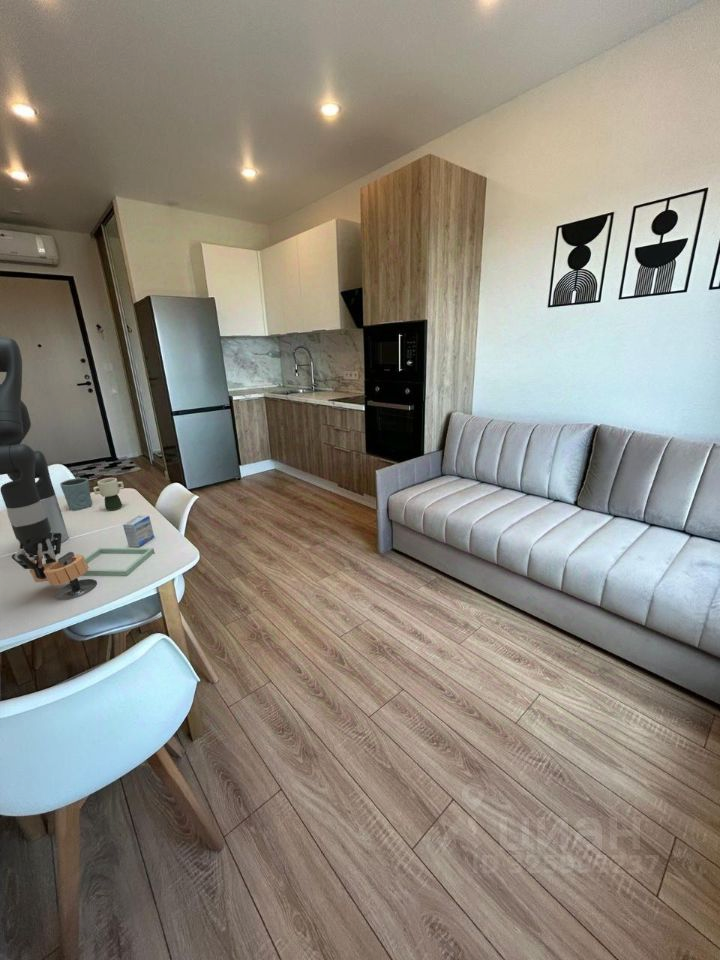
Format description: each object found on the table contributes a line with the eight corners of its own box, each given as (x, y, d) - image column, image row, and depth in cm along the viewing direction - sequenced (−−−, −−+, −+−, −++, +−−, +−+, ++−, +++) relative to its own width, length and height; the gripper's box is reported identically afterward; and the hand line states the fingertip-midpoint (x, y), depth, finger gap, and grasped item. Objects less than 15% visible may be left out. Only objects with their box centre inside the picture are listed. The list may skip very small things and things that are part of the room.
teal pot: (73, 504, 176) (66, 479, 172) (98, 501, 179) (91, 476, 175) (63, 512, 167) (55, 486, 163) (89, 509, 169) (82, 483, 165)
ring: (26, 588, 106) (19, 576, 104) (53, 570, 114) (47, 558, 113) (71, 583, 104) (64, 570, 102) (95, 565, 112) (89, 552, 111)
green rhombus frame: (68, 577, 117) (66, 570, 117) (101, 554, 131) (99, 547, 130) (127, 578, 116) (126, 571, 115) (155, 554, 129) (153, 548, 128)
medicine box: (139, 547, 134) (133, 525, 131) (128, 546, 135) (122, 524, 132) (154, 537, 142) (149, 515, 139) (144, 536, 142) (139, 514, 140)
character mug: (127, 502, 175) (120, 475, 171) (129, 507, 170) (122, 479, 166) (98, 509, 169) (91, 481, 165) (100, 514, 164) (92, 485, 159)
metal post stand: (46, 602, 106) (32, 565, 102) (74, 581, 115) (63, 546, 111) (80, 603, 105) (68, 565, 101) (106, 582, 114) (95, 547, 111)
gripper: (38, 508, 110) (56, 561, 116) (-10, 530, 97) (12, 589, 103) (63, 508, 110) (79, 561, 115) (17, 531, 96) (39, 590, 102)
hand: (48, 574), depth 109 cm, fingers closed on ring, 3 cm apart
